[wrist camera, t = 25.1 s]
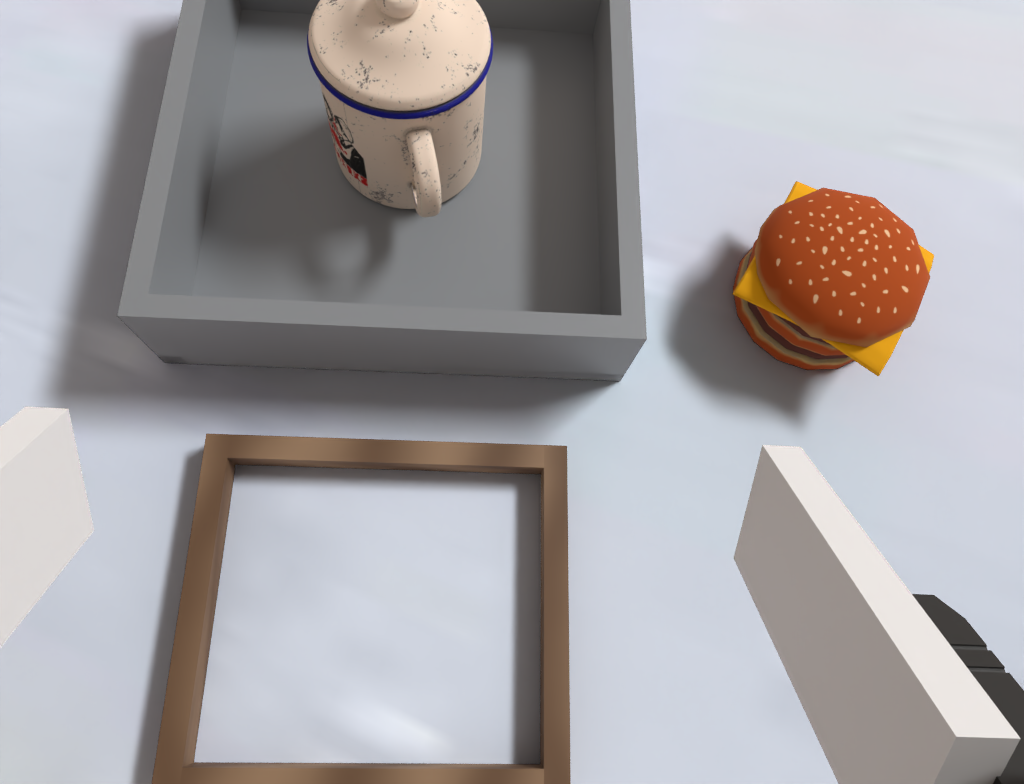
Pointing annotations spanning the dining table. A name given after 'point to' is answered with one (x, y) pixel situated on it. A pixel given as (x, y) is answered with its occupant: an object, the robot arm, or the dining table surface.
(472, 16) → the teacup with lid
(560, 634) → the brown wooden frame
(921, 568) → the dining table surface
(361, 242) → the bus tub
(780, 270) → the hamburger
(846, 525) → the robot arm
